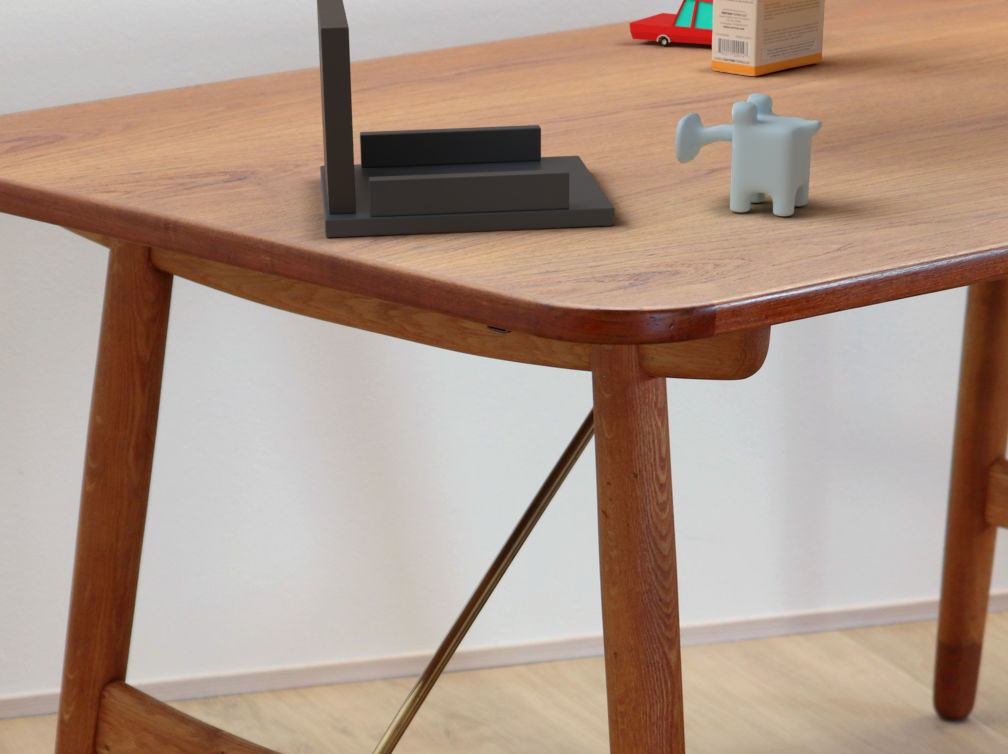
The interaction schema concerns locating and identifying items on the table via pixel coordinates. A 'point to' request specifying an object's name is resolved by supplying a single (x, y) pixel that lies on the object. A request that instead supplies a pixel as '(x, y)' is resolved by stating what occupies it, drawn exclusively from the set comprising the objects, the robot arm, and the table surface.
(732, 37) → the supplement box
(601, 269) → the table surface
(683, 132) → the figurine
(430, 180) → the cradle
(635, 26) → the toy car
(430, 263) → the table surface
